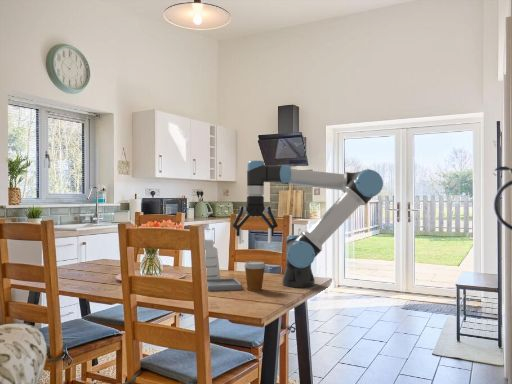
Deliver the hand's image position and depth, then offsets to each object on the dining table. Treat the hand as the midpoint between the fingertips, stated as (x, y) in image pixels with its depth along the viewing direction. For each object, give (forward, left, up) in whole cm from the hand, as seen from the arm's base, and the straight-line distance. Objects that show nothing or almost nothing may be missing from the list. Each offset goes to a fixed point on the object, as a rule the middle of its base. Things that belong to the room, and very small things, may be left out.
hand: (254, 243), depth 195 cm
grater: (+17, -27, -21) cm, 38 cm away
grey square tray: (+13, -9, -20) cm, 26 cm away
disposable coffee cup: (0, 0, -21) cm, 21 cm away
